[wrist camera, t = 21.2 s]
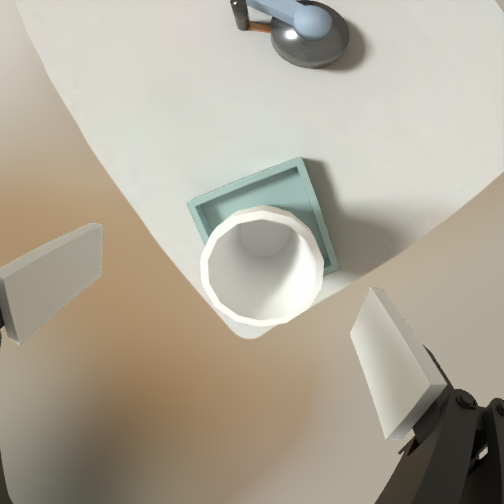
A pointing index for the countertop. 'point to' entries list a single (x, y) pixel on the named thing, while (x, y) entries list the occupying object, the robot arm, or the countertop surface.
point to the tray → (267, 203)
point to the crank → (297, 16)
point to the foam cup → (262, 266)
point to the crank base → (292, 43)
